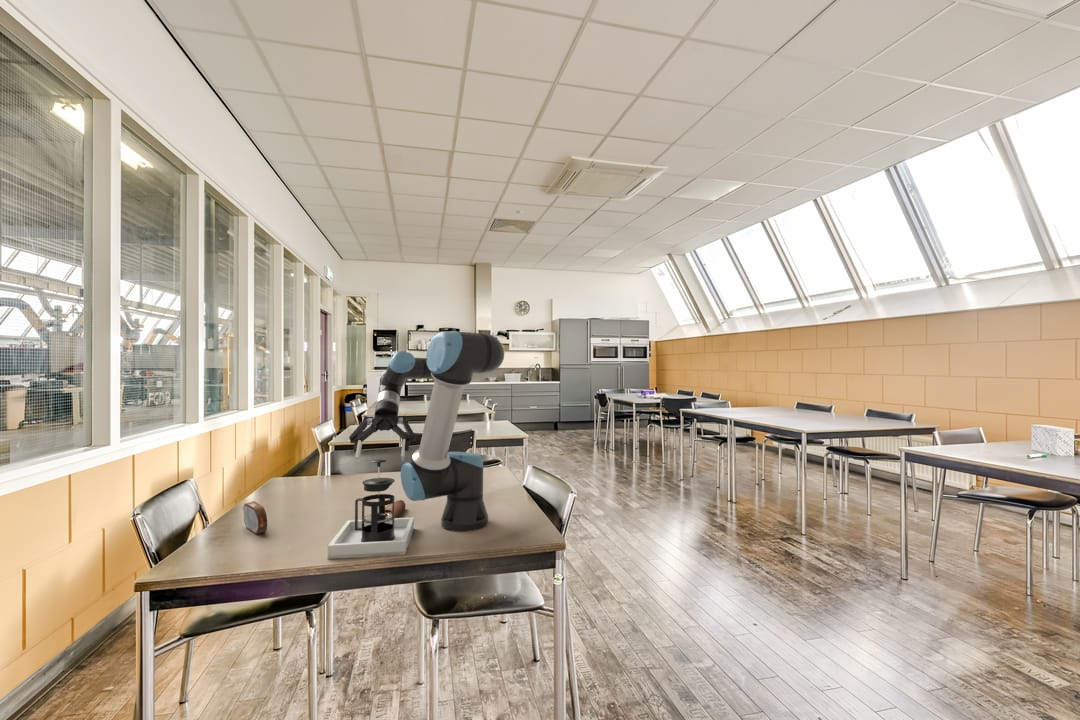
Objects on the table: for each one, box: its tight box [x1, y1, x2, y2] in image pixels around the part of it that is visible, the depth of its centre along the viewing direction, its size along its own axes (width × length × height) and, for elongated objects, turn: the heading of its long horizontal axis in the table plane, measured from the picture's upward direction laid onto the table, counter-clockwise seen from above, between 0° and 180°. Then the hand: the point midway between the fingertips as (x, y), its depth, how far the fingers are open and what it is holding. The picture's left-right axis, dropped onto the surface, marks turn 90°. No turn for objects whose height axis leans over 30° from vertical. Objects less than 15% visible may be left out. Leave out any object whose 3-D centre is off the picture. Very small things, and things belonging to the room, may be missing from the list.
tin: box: [242, 500, 268, 535], centre depth 150 cm, size 15×3×8 cm, turn 47°
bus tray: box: [327, 517, 415, 560], centre depth 139 cm, size 20×22×4 cm
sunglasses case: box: [385, 499, 406, 518], centre depth 164 cm, size 18×7×7 cm
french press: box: [354, 458, 396, 542], centre depth 139 cm, size 12×9×23 cm
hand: (379, 459), depth 148 cm, fingers open, 13 cm apart
